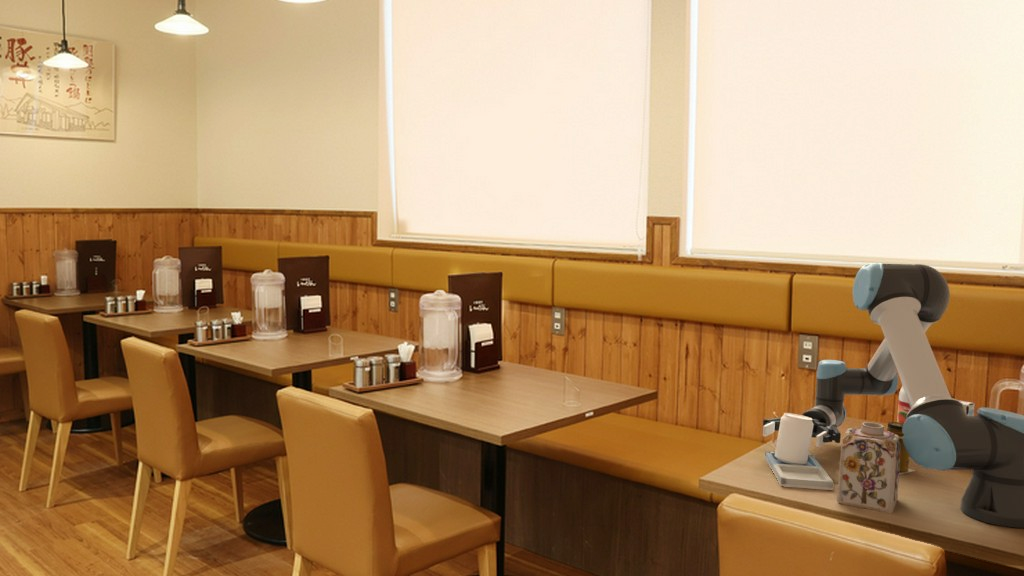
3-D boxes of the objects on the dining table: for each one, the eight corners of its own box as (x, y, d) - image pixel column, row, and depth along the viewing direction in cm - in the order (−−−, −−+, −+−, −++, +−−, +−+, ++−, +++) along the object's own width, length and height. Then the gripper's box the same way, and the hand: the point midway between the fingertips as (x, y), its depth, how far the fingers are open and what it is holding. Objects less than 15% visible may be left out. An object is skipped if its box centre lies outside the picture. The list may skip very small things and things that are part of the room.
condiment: (915, 471, 214) (919, 425, 213) (896, 476, 210) (900, 429, 209) (889, 463, 220) (892, 419, 219) (870, 468, 216) (873, 422, 215)
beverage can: (810, 464, 215) (818, 419, 215) (800, 467, 209) (808, 420, 209) (780, 456, 220) (787, 411, 220) (769, 458, 214) (777, 413, 213)
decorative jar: (844, 489, 197) (849, 415, 196) (897, 499, 192) (903, 423, 190) (835, 503, 187) (841, 425, 185) (892, 514, 181) (898, 434, 180)
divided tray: (833, 490, 197) (833, 481, 196) (780, 486, 198) (781, 478, 198) (811, 462, 219) (812, 454, 219) (764, 458, 221) (765, 451, 221)
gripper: (863, 443, 220) (839, 460, 204) (771, 426, 236) (742, 441, 219) (865, 416, 220) (841, 430, 203) (773, 400, 235) (744, 413, 218)
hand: (790, 436), depth 211 cm, fingers open, 13 cm apart
